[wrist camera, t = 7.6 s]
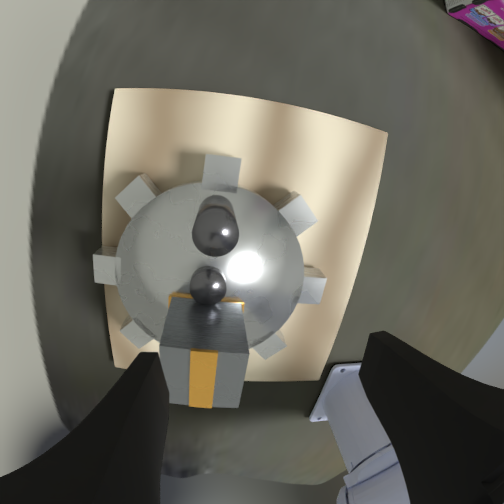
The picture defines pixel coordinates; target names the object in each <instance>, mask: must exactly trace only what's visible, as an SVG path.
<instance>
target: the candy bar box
mask: <svg viewBox="0 0 504 504" xmlns="http://www.w3.org/2000/svg"><path fill="white" fill-rule="evenodd" d="M444 3H445V7H446V10H447V13H448V14H449V15H451V16H452V17H454V18H456V19H457V20H459V21H461V22H462V23H464V24H466V25H467V26H469V27H470V28H472V29H473V30H475V31H476V32H478V33H479V34H481V35H482V36H484V37H485V38H487V39H488V40H490V41H491V42H492V43H494V44H495V45H496V46H498V47H499V48H500V49H502V50H503V51H504V0H444Z"/></svg>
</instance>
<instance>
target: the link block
mask: <svg viewBox="0 0 504 504" xmlns="http://www.w3.org/2000/svg"><path fill="white" fill-rule="evenodd" d="M249 354H250V353H249V347H248V341H247V335H246V329H245V323H244V317H243V311H242V305H241V303H231V302H218V303H216V304H213V305H204V304H201V303H199V302H197V301H195V300H194V299H190V298H181V297H172V298H171V302H170V305H169V309H168V313H167V317H166V320H165V324H164V328H163V332H162V336H161V340H160V344H159V355H160V361H161V365H162V369H163V373H164V376H165V380H166V383H167V386H168V390H169V393H170V395H169V403H173V404H183V405H189V407H201V408H212V407H224V408H238V407H239V403H240V398H241V393H242V388H243V384H244V379H245V374H246V369H247V364H248V359H249Z"/></svg>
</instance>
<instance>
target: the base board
mask: <svg viewBox="0 0 504 504" xmlns="http://www.w3.org/2000/svg"><path fill="white" fill-rule="evenodd" d="M387 136H388V133H387V132H384V131H381V130H378V129H375V128H372V127H369V126H366V125H363V124H360V123H357V122H354V121H350V120H347V119H344V118H340V117H337V116H333V115H330V114H326V113H322V112H318V111H314V110H310V109H306V108H302V107H297V106H293V105H288V104H284V103H279V102H274V101H268V100H263V99H257V98H251V97H244V96H238V95H230V94H222V93H214V92H204V91H193V90H178V89H155V88H118V89H115V91H114V97H113V102H112V108H111V114H110V121H109V128H108V136H107V145H106V154H105V165H104V179H103V200H102V246H108V247H117V248H118V245H119V242H120V239H121V236H122V234H123V232H124V230H125V228H126V226H127V225H128V223H129V222H130V221H131V219H132V218H131V217H130V216H129V215H128V214H127V212H126V211H125V210H124V209H123V208H122V206H121V205H120V204H119V203H118V201H117V200H116V199H115V197H116V196H117V195H118V194H119V193H120V192H122V191H123V190H124V189H125V188H126V187H127V186H128V185H129V184H130V183H131V182H132V181H133V180H134V179H135V178H137V177H138V176H139V175H142V174H145V173H146V174H147V175H148V177H149V178H150V179H151V180H152V181H153V183H154V184H155V185H156V186H157V188H158V189H159V190H160V191H161V193H162V192H164V191H166V190H168V189H169V188H172V187H174V186H177V185H180V184H183V183H187V182H191V181H198V180H202V179H203V171H204V164H205V157H206V154H213V155H222V156H230V157H237V158H242V160H241V167H240V173H239V180H238V185H241V186H244V187H246V188H248V189H250V190H252V191H254V192H256V193H257V194H259V195H260V196H262V197H263V198H265V199H266V200H267V201H268V202H270V203H271V204H272V205H275V204H276V203H277V202H279V201H280V200H281V199H283V198H284V197H285V196H287V195H288V194H290V193H291V192H292V191H295V192H297V193H299V194H300V195H301V196H302V197H303V199H304V200H305V202H306V203H307V205H308V206H309V208H310V209H311V211H312V212H313V214H314V215H315V217H316V219H317V220H318V222H316V223H315V224H314V225H312V226H311V227H309V228H308V229H307V230H305V231H304V232H303V233H301V234H300V235H299V236H297V239H298V241H299V244H300V247H301V251H302V255H303V261H304V267H309V268H319V269H320V270H321V272H322V273H323V274H324V275H325V277H326V278H327V280H326V284H325V287H324V291H323V295H322V298H321V302H320V304H301V303H297V305H296V307H295V309H294V311H293V313H292V314H291V316H290V317H289V319H288V320H287V321H286V322H285V324H284V325H283V326H282V327H281V328H280V329H279V330H280V331H281V332H282V333H283V336H284V338H285V341H286V344H287V347H285V348H284V349H282V350H280V351H279V352H277V353H276V354H274V355H272V356H271V357H269V358H267V359H266V360H265V359H264V358H262V357H261V356H260V355H259V354H258V353H257V352H256V351H255V350H254V349H253V348H250V349H249V353H250V354H249V359H248V364H247V369H246V374H245V379H244V381H311V380H319V379H320V376H321V374H322V371H323V369H324V366H325V364H326V361H327V359H328V356H329V354H330V351H331V348H332V346H333V343H334V341H335V338H336V335H337V332H338V330H339V327H340V324H341V321H342V318H343V315H344V312H345V309H346V306H347V303H348V300H349V297H350V294H351V291H352V288H353V285H354V281H355V278H356V275H357V271H358V268H359V264H360V261H361V257H362V254H363V250H364V246H365V243H366V239H367V235H368V231H369V227H370V223H371V219H372V214H373V210H374V206H375V201H376V196H377V192H378V187H379V182H380V177H381V172H382V166H383V160H384V155H385V149H386V142H387ZM104 288H105V299H106V309H107V318H108V326H109V333H110V340H111V346H112V352H113V358H114V364H115V367H118V368H124V369H127V368H128V367H129V365H130V364H131V363H132V362H133V360H134V359H135V358H136V356H137V355H138V354H139V353H140V352H158V354H159V344H160V343H159V342H157V341H156V340H154V339H153V340H151V341H150V342H148V343H147V344H146V345H144V346H143V347H141V348H140V349H138V348H137V347H136V346H135V345H134V344H133V343H132V342H131V341H129V340H128V339H127V338H126V337H125V336H124V335H123V334H122V333H121V332H120V329H121V326H122V324H123V322H124V320H125V318H127V317H128V316H129V314H128V312H127V310H126V308H125V307H124V305H123V303H122V300H121V298H120V295H119V292H118V288H117V286H116V285H109V284H104ZM159 358H160V355H159Z"/></svg>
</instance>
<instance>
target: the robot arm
mask: <svg viewBox="0 0 504 504" xmlns="http://www.w3.org/2000/svg"><path fill="white" fill-rule="evenodd" d="M341 369H342V370H341ZM169 395H170V393H169V390H168V386H167V383H166V380H165V376H164V373H163V369H162V365H161V361H160V358H159V354H158V352H140V353H139V354H138V355H137V356H136V358H135V359H134V360H133V362H132V363H131V364H130V365H129V367H128V368H127V369H126V371H125V372H124V373H123V375H122V376H121V377H120V378H119V380H118V381H117V382H116V383H115V385H114V386H113V387H112V388H111V390H110V391H109V392H108V393H107V394H106V396H105V397H104V398H103V399H102V400H101V401H100V403H99V404H98V405H97V406H96V407H95V408H94V409H93V410H92V411H91V412H90V414H89V415H88V416H87V417H86V418H85V419H84V420H83V421H82V422H81V423H80V424H79V425H78V426H77V427H76V428H75V429H73V430H72V431H71V432H70V433H69V434H68V435H67V436H66V437H64V438H63V439H62V440H61V441H60V442H58V443H57V444H56V445H54V446H53V447H52V448H50V449H49V450H48V451H46V452H45V453H44V454H42V455H41V456H39V457H38V458H36V459H35V460H33V461H31V462H30V463H28V464H26V465H25V466H23V467H21V468H19V469H17V470H15V471H13V472H11V473H9V474H7V475H4V476H2V477H0V504H160V475H161V467H162V460H163V453H164V446H165V440H166V433H167V426H168V420H169ZM309 419H310V421H313V422H314V421H323V420H328V421H329V424H330V427H331V429H332V432H333V434H334V437H335V439H336V442H337V444H338V447H339V450H340V452H341V455H342V457H343V460H344V462H345V465H346V468H347V470H348V473H349V474H348V475H346V476H344V477H343V478H344V481H345V483H346V486H344V487H342V488H341V489H340V492H339V495H338V497H337V504H504V389H500V388H497V387H493V386H489V385H487V384H484V383H481V382H479V381H476V380H474V379H471V378H469V377H466V376H464V375H462V374H460V373H458V372H456V371H454V370H452V369H450V368H448V367H446V366H444V365H442V364H440V363H439V362H437V361H435V360H433V359H431V358H430V357H428V356H426V355H425V354H423V353H421V352H420V351H418V350H416V349H415V348H413V347H411V346H410V345H408V344H407V343H405V342H403V341H402V340H400V339H398V338H397V337H395V336H393V335H391V334H389V333H388V332H386V331H380V332H374V333H370V335H369V338H368V342H367V346H366V350H365V353H364V357H363V360H362V363H351V364H337V365H335V366H333V367H332V369H331V371H330V373H329V376H328V378H327V380H326V382H325V385H324V387H323V389H322V391H321V394H320V396H319V398H318V400H317V402H316V404H315V406H314V408H313V411H312V413H311V415H310V417H309Z"/></svg>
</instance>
